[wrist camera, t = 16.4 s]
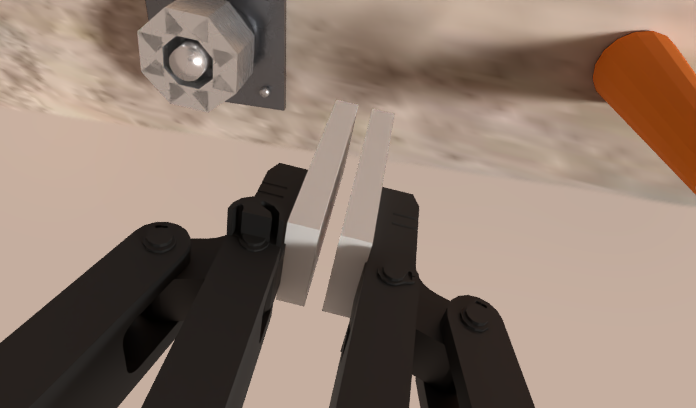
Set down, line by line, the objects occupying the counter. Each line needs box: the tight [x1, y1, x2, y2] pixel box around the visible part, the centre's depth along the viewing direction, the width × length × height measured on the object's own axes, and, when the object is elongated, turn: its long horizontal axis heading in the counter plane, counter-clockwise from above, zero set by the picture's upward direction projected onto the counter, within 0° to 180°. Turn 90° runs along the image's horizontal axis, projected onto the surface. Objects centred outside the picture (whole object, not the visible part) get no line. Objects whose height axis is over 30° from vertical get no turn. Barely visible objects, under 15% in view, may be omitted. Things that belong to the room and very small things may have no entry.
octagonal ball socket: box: [137, 0, 255, 113], centre depth 45 cm, size 9×9×5 cm
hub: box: [145, 0, 286, 110], centre depth 46 cm, size 14×14×8 cm
